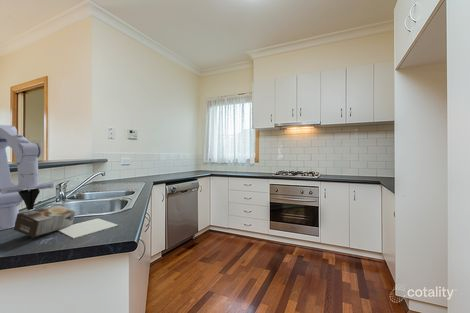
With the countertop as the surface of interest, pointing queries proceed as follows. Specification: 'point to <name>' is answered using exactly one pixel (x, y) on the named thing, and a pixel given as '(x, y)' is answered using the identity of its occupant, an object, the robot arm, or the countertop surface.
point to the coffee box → (44, 220)
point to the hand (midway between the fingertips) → (30, 209)
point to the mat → (86, 228)
